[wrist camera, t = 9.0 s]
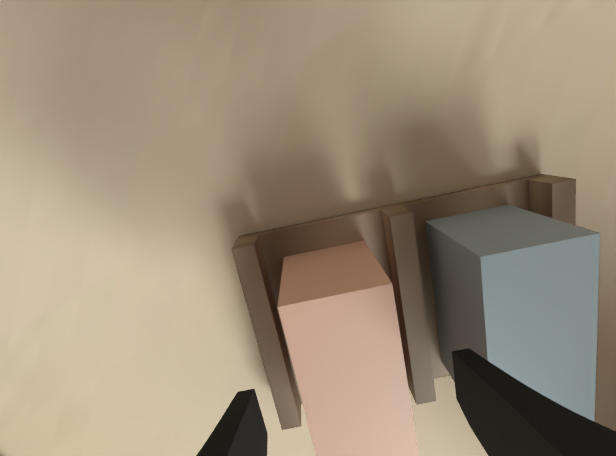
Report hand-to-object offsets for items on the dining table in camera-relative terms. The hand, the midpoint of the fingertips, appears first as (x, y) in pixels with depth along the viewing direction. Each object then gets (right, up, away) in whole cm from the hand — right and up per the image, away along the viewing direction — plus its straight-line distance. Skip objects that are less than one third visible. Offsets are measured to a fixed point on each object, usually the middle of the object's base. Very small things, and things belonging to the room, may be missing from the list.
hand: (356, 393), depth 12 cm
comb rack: (+3, +2, +6) cm, 7 cm away
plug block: (0, +1, +5) cm, 6 cm away
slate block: (+7, +3, +5) cm, 9 cm away
